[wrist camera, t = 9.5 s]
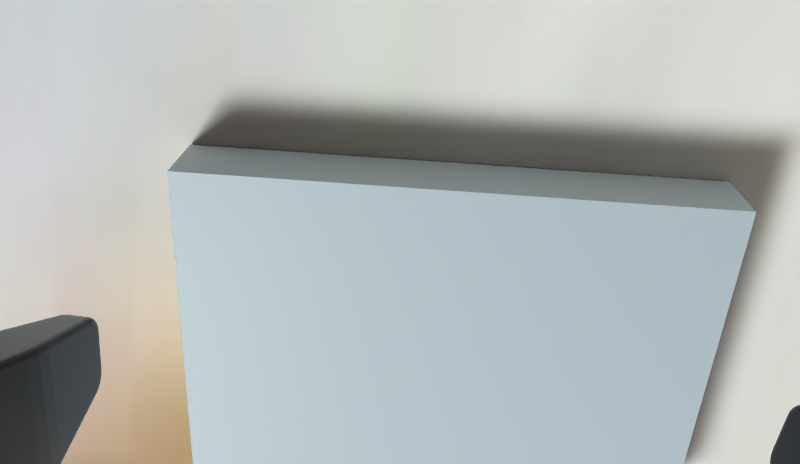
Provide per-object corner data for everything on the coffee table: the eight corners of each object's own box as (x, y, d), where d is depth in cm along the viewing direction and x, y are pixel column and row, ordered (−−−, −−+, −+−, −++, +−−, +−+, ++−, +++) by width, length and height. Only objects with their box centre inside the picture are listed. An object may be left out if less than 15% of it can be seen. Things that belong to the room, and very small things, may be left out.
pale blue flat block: (211, 448, 26) (195, 491, 24) (190, 144, 21) (167, 170, 20) (649, 481, 26) (665, 528, 24) (729, 181, 21) (756, 212, 19)
